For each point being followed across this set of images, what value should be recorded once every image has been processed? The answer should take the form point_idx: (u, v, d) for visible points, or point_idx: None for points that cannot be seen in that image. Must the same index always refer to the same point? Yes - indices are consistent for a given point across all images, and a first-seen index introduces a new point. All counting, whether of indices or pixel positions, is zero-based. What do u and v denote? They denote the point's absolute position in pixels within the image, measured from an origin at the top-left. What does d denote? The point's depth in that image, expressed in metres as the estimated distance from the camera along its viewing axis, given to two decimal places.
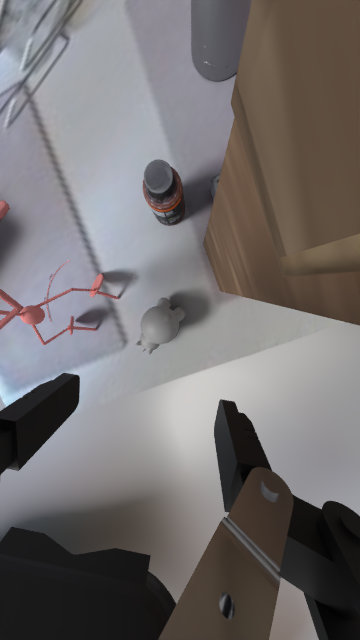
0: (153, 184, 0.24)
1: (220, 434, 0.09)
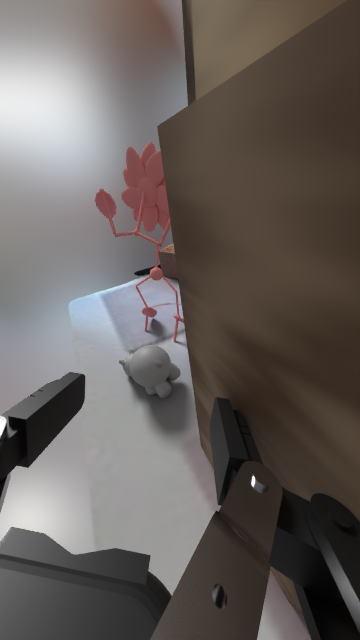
0: None
1: (215, 430, 0.09)
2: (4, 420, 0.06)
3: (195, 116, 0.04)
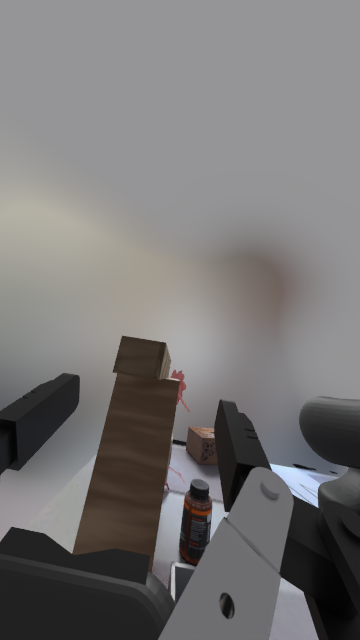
0: (196, 480, 0.40)
1: (220, 434, 0.09)
2: None
3: None
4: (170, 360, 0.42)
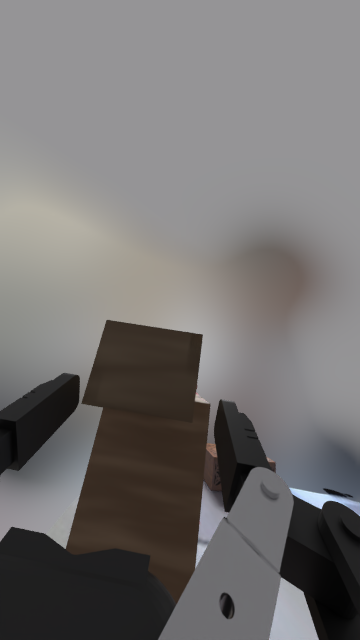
0: None
1: (220, 434, 0.09)
2: None
3: None
4: None
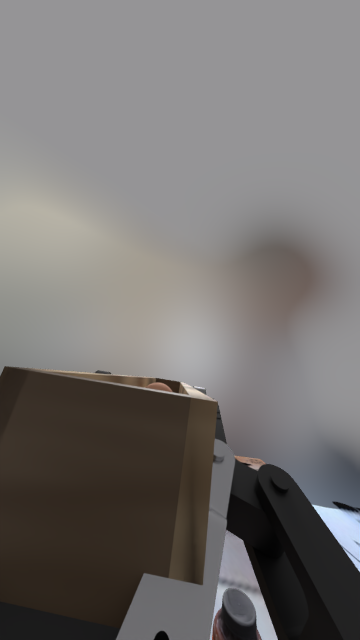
0: (231, 594, 0.23)
1: None
2: None
3: None
4: None
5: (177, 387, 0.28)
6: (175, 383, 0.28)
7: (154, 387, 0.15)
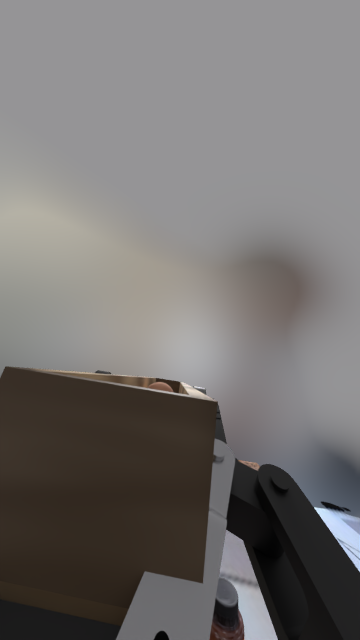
0: (218, 582, 0.28)
1: None
2: None
3: None
4: None
5: (177, 387, 0.28)
6: (175, 383, 0.28)
7: None
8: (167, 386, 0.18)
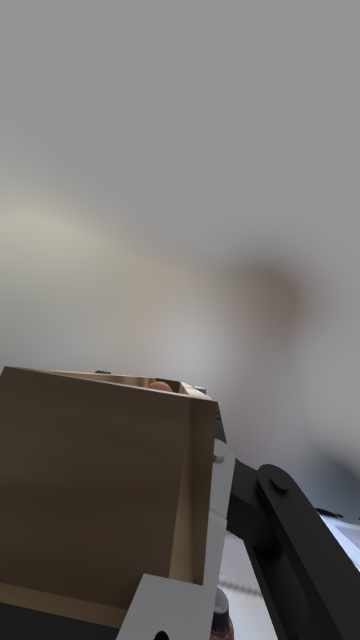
0: None
1: None
2: None
3: None
4: None
5: (177, 387, 0.28)
6: (175, 383, 0.28)
7: None
8: None
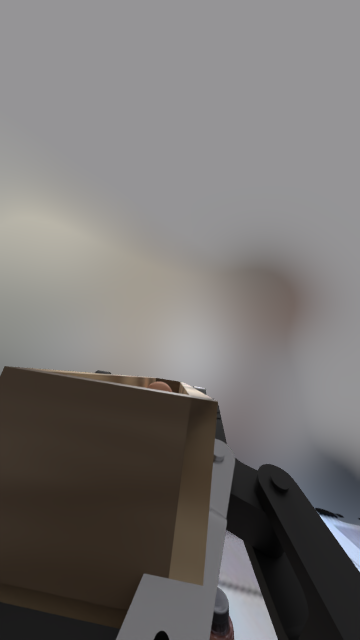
0: None
1: None
2: None
3: None
4: None
5: (177, 387, 0.28)
6: (175, 383, 0.28)
7: None
8: None
